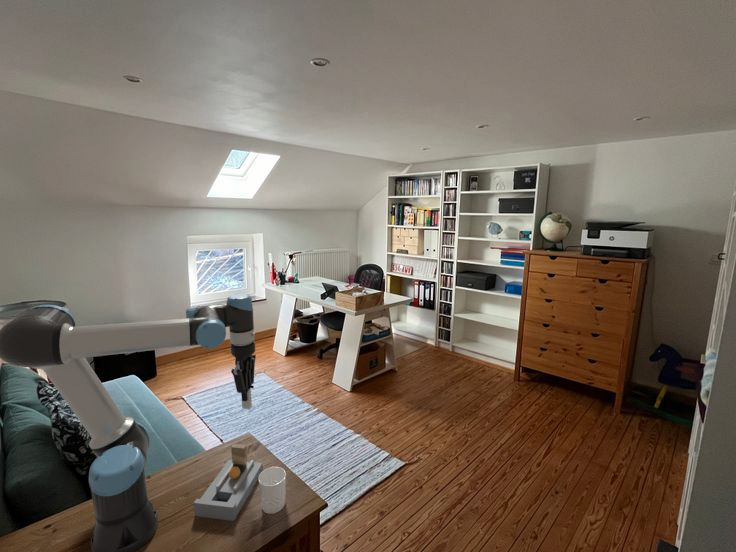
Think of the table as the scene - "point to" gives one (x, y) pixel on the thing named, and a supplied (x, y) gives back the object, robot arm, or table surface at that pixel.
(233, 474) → the ball
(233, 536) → the table surface
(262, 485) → the white cup
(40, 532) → the table surface
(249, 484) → the board
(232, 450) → the tan block
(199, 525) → the table surface
